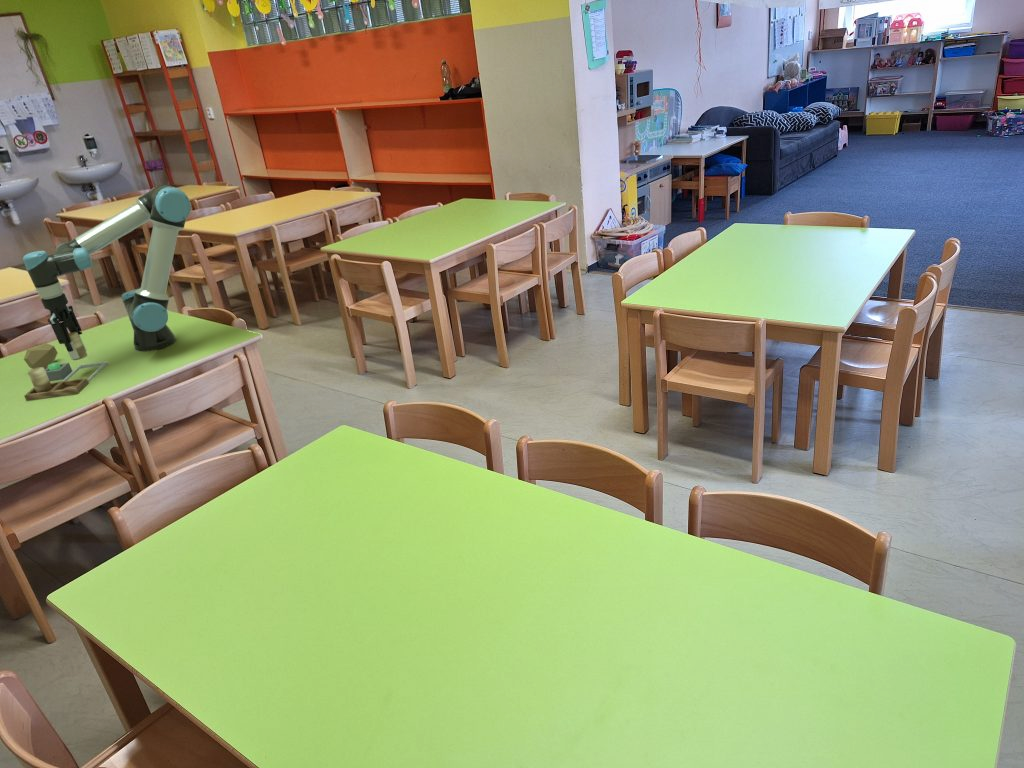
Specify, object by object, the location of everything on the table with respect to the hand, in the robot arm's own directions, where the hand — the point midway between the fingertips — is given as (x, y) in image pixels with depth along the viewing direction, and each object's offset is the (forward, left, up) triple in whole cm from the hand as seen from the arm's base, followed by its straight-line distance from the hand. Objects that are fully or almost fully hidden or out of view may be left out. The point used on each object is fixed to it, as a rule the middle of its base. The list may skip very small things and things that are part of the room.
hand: (79, 355), depth 262 cm
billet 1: (+8, +14, -7) cm, 18 cm away
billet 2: (0, 0, -1) cm, 1 cm away
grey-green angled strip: (+1, 0, -8) cm, 8 cm away
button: (+11, -1, -8) cm, 13 cm away
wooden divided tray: (+4, +14, -8) cm, 17 cm away
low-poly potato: (+22, -15, -9) cm, 27 cm away
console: (+11, -1, -8) cm, 14 cm away
